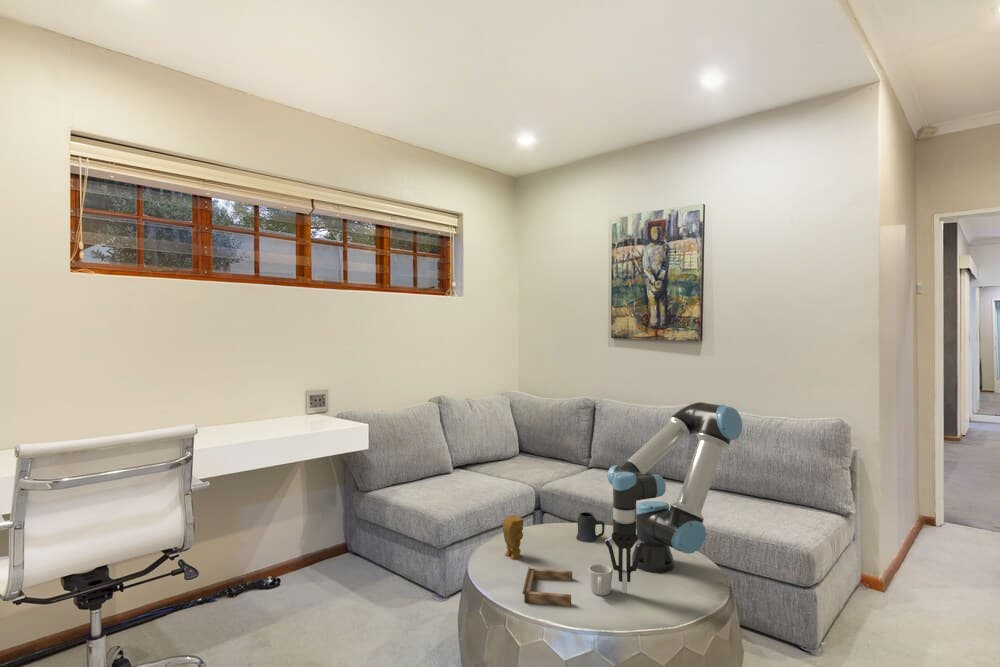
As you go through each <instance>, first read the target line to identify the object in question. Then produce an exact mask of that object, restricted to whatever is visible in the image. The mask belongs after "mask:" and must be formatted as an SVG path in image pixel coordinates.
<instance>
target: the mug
mask: <svg viewBox="0 0 1000 667" xmlns="http://www.w3.org/2000/svg"><path fill="white" fill-rule="evenodd" d="M597 525H601V532H600V533H599V534H596V526H597ZM604 534H605V521H604V520H603V521H602V520H597V518H595V516H594V514H593V512H589V511H583V512H580V513H579V516H578V517H577V533H576V536H575V538H576V540H577V541H578V542H582V543H594V542H596V541H597V540H598V539H597V538H602V537H603V536H604Z"/></svg>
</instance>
